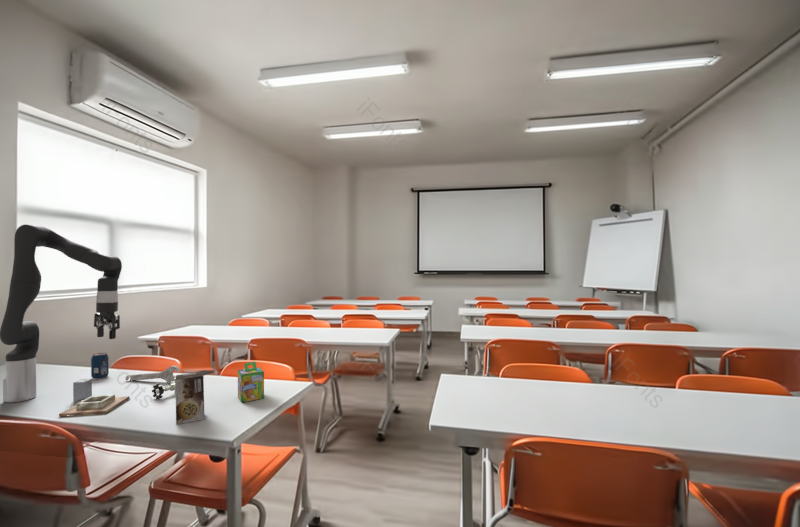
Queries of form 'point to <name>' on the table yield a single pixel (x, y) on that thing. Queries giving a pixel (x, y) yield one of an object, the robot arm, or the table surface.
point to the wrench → (156, 375)
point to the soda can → (99, 366)
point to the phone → (205, 372)
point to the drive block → (82, 389)
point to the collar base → (95, 405)
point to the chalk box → (250, 383)
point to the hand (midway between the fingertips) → (106, 337)
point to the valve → (162, 390)
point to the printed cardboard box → (189, 397)
